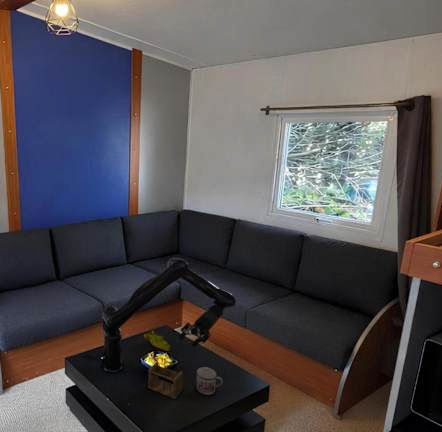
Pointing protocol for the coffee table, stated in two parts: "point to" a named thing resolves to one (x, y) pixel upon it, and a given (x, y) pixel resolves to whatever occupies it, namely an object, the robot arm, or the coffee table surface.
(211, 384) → the teacup with lid
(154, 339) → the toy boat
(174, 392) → the wooden caddy
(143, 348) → the coffee table surface
